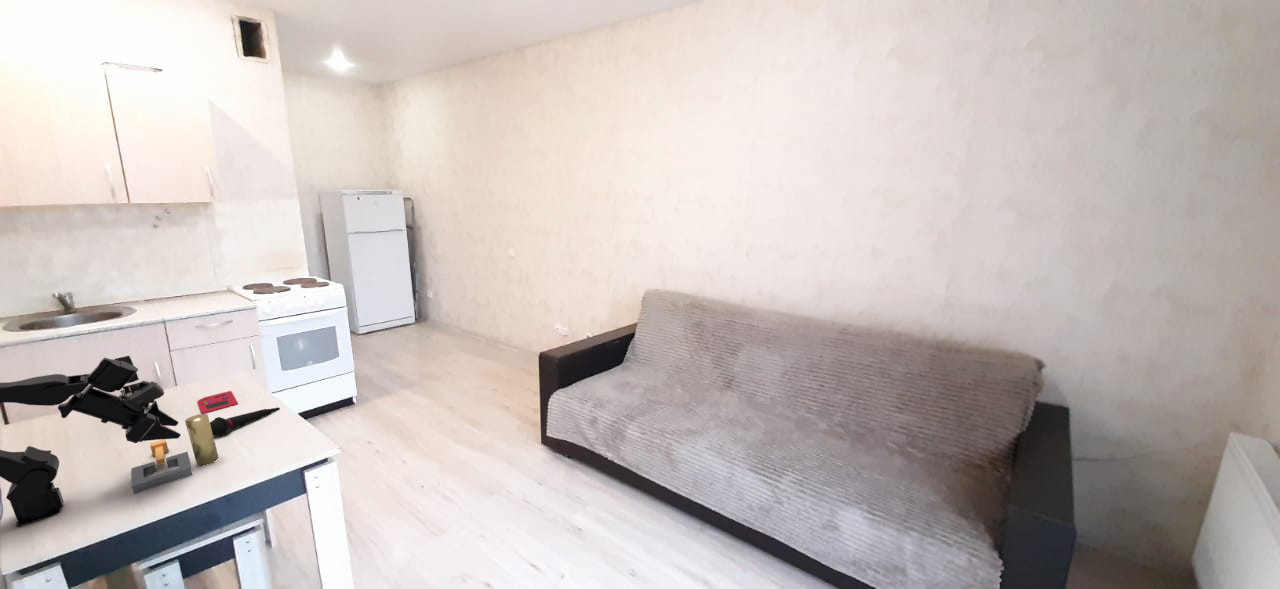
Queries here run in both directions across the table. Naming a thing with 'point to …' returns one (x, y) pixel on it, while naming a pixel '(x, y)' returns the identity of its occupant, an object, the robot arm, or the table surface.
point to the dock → (140, 472)
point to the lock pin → (159, 450)
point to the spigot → (202, 439)
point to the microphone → (237, 421)
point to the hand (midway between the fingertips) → (178, 430)
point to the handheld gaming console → (216, 402)
